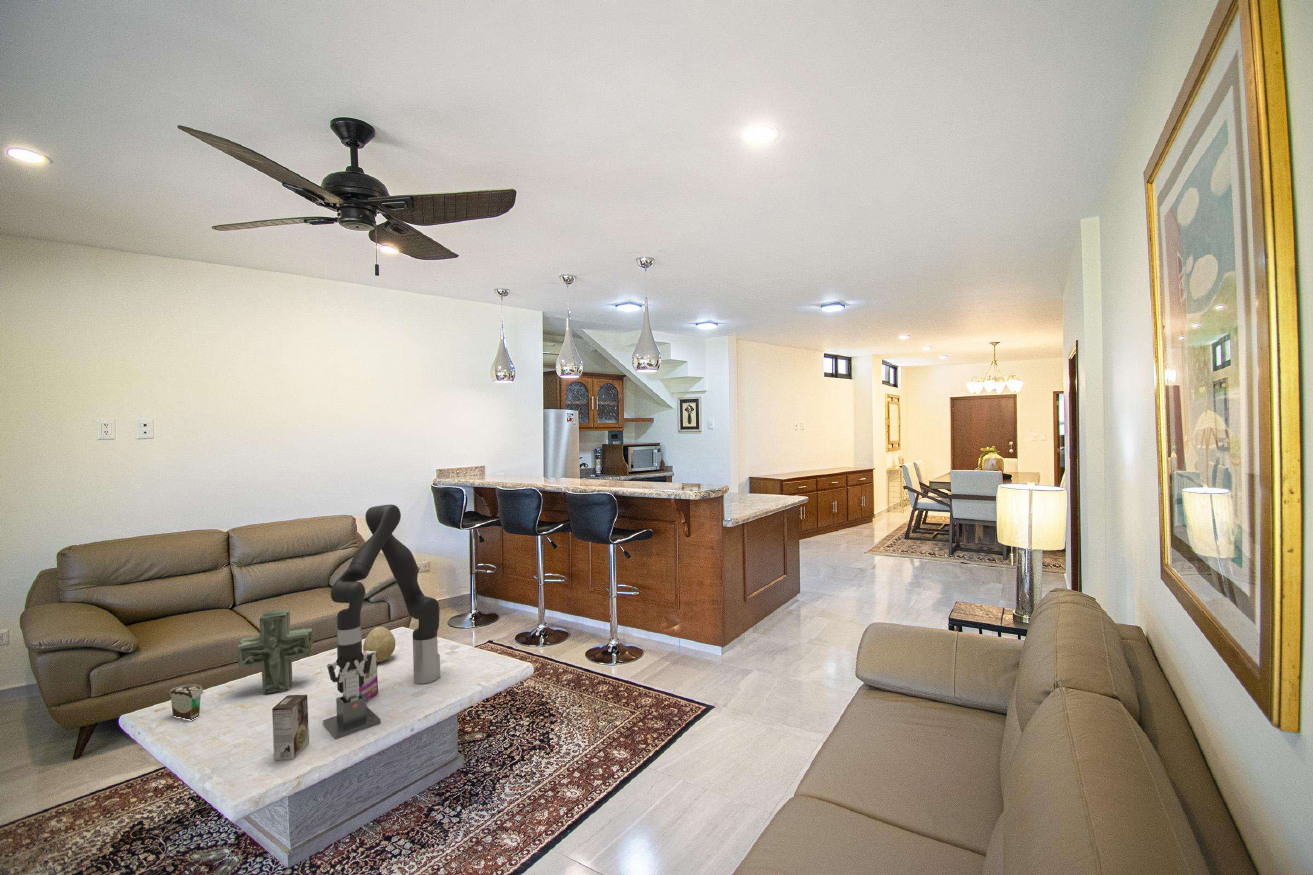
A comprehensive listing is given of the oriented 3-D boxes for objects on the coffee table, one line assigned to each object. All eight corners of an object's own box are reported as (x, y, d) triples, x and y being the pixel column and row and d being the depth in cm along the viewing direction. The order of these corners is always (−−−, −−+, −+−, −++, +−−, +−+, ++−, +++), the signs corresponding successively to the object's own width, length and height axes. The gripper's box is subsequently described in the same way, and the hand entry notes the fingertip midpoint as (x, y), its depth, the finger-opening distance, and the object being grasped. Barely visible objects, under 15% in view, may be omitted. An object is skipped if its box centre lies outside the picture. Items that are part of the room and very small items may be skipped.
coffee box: (288, 744, 187) (287, 694, 187) (309, 743, 188) (308, 693, 188) (272, 760, 178) (271, 708, 178) (294, 759, 179) (293, 706, 178)
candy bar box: (367, 692, 224) (366, 649, 224) (378, 693, 223) (377, 650, 223) (346, 705, 213) (344, 661, 213) (358, 706, 212) (356, 662, 212)
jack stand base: (366, 709, 210) (365, 682, 210) (380, 723, 200) (379, 694, 200) (323, 724, 200) (322, 695, 200) (335, 739, 190) (334, 708, 190)
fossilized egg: (370, 656, 261) (369, 623, 261) (399, 654, 262) (398, 621, 262) (358, 667, 248) (357, 632, 248) (390, 665, 249) (389, 631, 249)
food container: (212, 713, 210) (211, 685, 210) (193, 721, 204) (192, 693, 204) (188, 708, 214) (187, 681, 214) (170, 716, 208) (169, 688, 208)
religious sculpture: (237, 701, 219) (235, 621, 219) (244, 689, 229) (242, 613, 229) (311, 688, 229) (309, 612, 228) (314, 677, 239) (312, 604, 239)
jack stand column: (356, 715, 203) (355, 670, 203) (360, 719, 200) (359, 674, 199) (343, 719, 200) (341, 674, 200) (347, 724, 197) (346, 678, 196)
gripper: (367, 632, 207) (369, 679, 207) (322, 643, 197) (324, 692, 197) (375, 637, 202) (376, 685, 202) (329, 648, 192) (331, 699, 192)
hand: (350, 689), depth 200 cm, fingers open, 5 cm apart
